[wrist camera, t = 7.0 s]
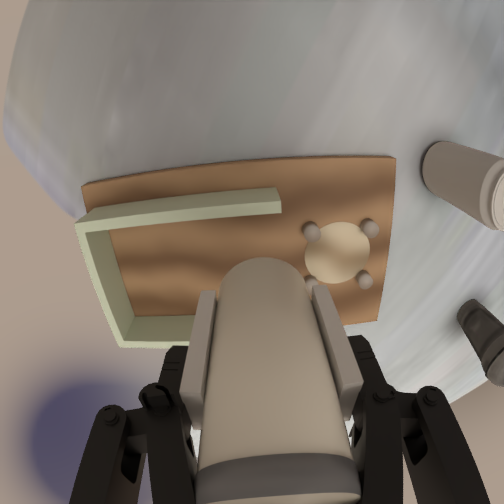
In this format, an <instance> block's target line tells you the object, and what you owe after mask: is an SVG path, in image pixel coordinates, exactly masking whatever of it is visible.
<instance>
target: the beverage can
mask: <svg viewBox="0 0 504 504" xmlns="http://www.w3.org/2000/svg"><path fill="white" fill-rule="evenodd" d="M423 178H424V182H425V184H426V186H427V187H428V189H429V190H430V191H431V192H432V193H433V194H435V195H437V196H438V197H440V198H442V199H443V200H445V201H447V202H449V203H450V204H452V205H454V206H455V207H457V208H459V209H460V210H462V211H464V212H465V213H467V214H468V215H470V216H472V217H473V218H475V219H476V220H478V221H479V222H481V223H482V224H484V225H485V226H487V227H488V228H490V229H492V230H500V231H504V158H501V157H498V156H495V155H492V154H489V153H486V152H483V151H480V150H476V149H473V148H470V147H466V146H463V145H459V144H455V143H452V142H448V141H441V142H438V143H436V144H434V145H433V146H432V147H431V148H430V149H429V150H428V152H427V153H426V156H425V158H424V162H423Z"/></svg>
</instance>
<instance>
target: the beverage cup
mask: <svg viewBox="0 0 504 504" xmlns="http://www.w3.org/2000/svg"><path fill="white" fill-rule="evenodd" d="M457 320H458V321H459V323H460V325H461V328H462V329H463V331H464V333H465V334H466V336H467V338H468V339H469V341H470V343H471V345H472V346H473V348H474V350H475V352H476V354H477V355H478V357H479V359H480V361H481V365H482V367H483V370H484V372H485V376H486V377H487V378H488V379H489V380H490V381H491V382H492V383H493V384H495V385H497V386H501V387H504V325H503V324H502V323H501V322H500V321H499V320H498V319H497V318H496V317H495V316H494V315H493V314H492V313H491V312H489V311H488V310H487V309H486V308H485V307H484V306H483V305H481V304H480V303H478V302H477V300H475V299H473V300H469V301H468V302H466V303H465V304H464V305H463V306H462V307H461V309H460V310H459V312H458V315H457Z"/></svg>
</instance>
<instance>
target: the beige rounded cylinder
mask: <svg viewBox="0 0 504 504" xmlns="http://www.w3.org/2000/svg"><path fill="white" fill-rule="evenodd" d="M194 491H195V500H196V504H356V503H357V502H358V501H359V500H360V499H361V496H362V489H361V483H360V478H359V473H358V469H357V465H356V463H355V462H354V459H353V455H352V450H351V446H350V442H349V438H348V434H347V430H346V426H345V422H344V418H343V414H342V410H341V406H340V402H339V398H338V395H337V391H336V387H335V383H334V380H333V376H332V372H331V369H330V365H329V361H328V358H327V354H326V351H325V347H324V344H323V340H322V337H321V333H320V330H319V326H318V323H317V320H316V316H315V313H314V310H313V306H312V303H311V300H310V296H309V293H308V290H307V287H306V284H305V281H304V279H303V277H302V275H301V274H300V273H299V271H298V270H297V269H296V268H294V267H293V266H292V265H290V264H289V263H287V262H285V261H282V260H279V259H275V258H269V257H260V258H253V259H249V260H246V261H243V262H241V263H239V264H237V265H236V266H234V267H233V268H232V269H231V270H230V271H229V272H228V273H227V274H226V275H225V276H224V278H223V280H222V282H221V284H220V287H219V292H218V299H217V307H216V314H215V321H214V328H213V336H212V343H211V351H210V359H209V367H208V375H207V383H206V391H205V400H204V408H203V417H202V426H201V435H200V445H199V454H198V464H197V473H196V475H195V478H194Z"/></svg>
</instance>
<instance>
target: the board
mask: <svg viewBox="0 0 504 504" xmlns="http://www.w3.org/2000/svg"><path fill="white" fill-rule="evenodd" d="M395 174H396V158H393V157H391V156H308V157H285V158H268V159H254V160H242V161H231V162H221V163H211V164H202V165H194V166H186V167H178V168H171V169H164V170H157V171H151V172H144V173H138V174H132V175H127V176H121V177H116V178H110V179H105V180H100V181H95V182H90V183H87V184H85V185H83V186H81V189H82V194H83V198H84V203H85V207H86V211H87V213H88V212H90V211H91V210H92V209H94V208H97V207H103V206H109V205H116V204H123V203H129V202H136V201H144V200H151V199H159V198H167V197H175V196H183V195H192V194H202V193H211V192H222V191H233V190H244V189H257V188H271V187H276V189H277V191H278V194H279V197H280V200H281V212H282V213H275V214H261V215H248V216H236V217H224V218H213V219H202V220H191V221H181V222H171V223H162V224H152V225H143V226H135V227H126V228H118V229H109V230H108V231H109V235H110V239H111V243H112V246H113V250H114V253H115V257H116V260H117V264H118V267H119V270H120V273H121V277H122V280H123V283H124V286H125V289H126V292H127V295H128V298H129V301H130V304H131V307H132V309H133V312H134V315H135V317H136V316H181V315H196V310H197V306H198V302H199V297H200V293H201V291H203V290H216V297H217V299H218V292H219V287H220V284H221V282H222V280H223V278H224V276H225V275H226V274H227V273H228V272H229V271H230V270H231V269H232V268H233V267H234V266H236V265H237V264H239V263H241V262H243V261H246V260H249V259H253V258H260V257H269V258H275V259H279V260H282V261H285V262H287V263H289V264H290V265H292V266H293V267H294V268H296V269H297V270H298V271H299V273H300V274H301V275H302V277H303V279H304V281H305V284H306V287H307V290H308V293H309V296H310V300H311V295H312V285H327V287H328V290H329V292H330V295H331V297H332V300H333V302H334V305H335V307H336V310H337V312H338V315H339V317H340V320H341V322H342V325H350V324H357V323H364V322H371V321H377V317H378V312H379V307H380V302H381V297H382V291H383V285H384V279H385V273H386V267H387V260H388V252H389V245H390V236H391V227H392V217H393V206H394V192H395Z"/></svg>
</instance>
